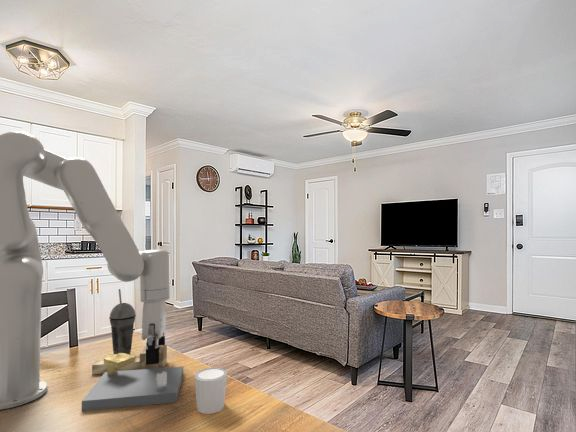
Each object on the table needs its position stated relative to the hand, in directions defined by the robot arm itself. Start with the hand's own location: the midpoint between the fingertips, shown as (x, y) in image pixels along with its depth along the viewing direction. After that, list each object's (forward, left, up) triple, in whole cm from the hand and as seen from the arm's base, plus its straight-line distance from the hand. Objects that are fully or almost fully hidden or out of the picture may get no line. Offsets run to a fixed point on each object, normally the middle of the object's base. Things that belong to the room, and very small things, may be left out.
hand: (156, 356), depth 96 cm
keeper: (-7, -9, -3) cm, 12 cm away
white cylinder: (+15, -25, -3) cm, 29 cm away
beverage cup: (-12, +11, -3) cm, 16 cm away
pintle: (+4, -19, -3) cm, 19 cm away
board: (-2, -14, -3) cm, 14 cm away
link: (-7, 0, -3) cm, 7 cm away
